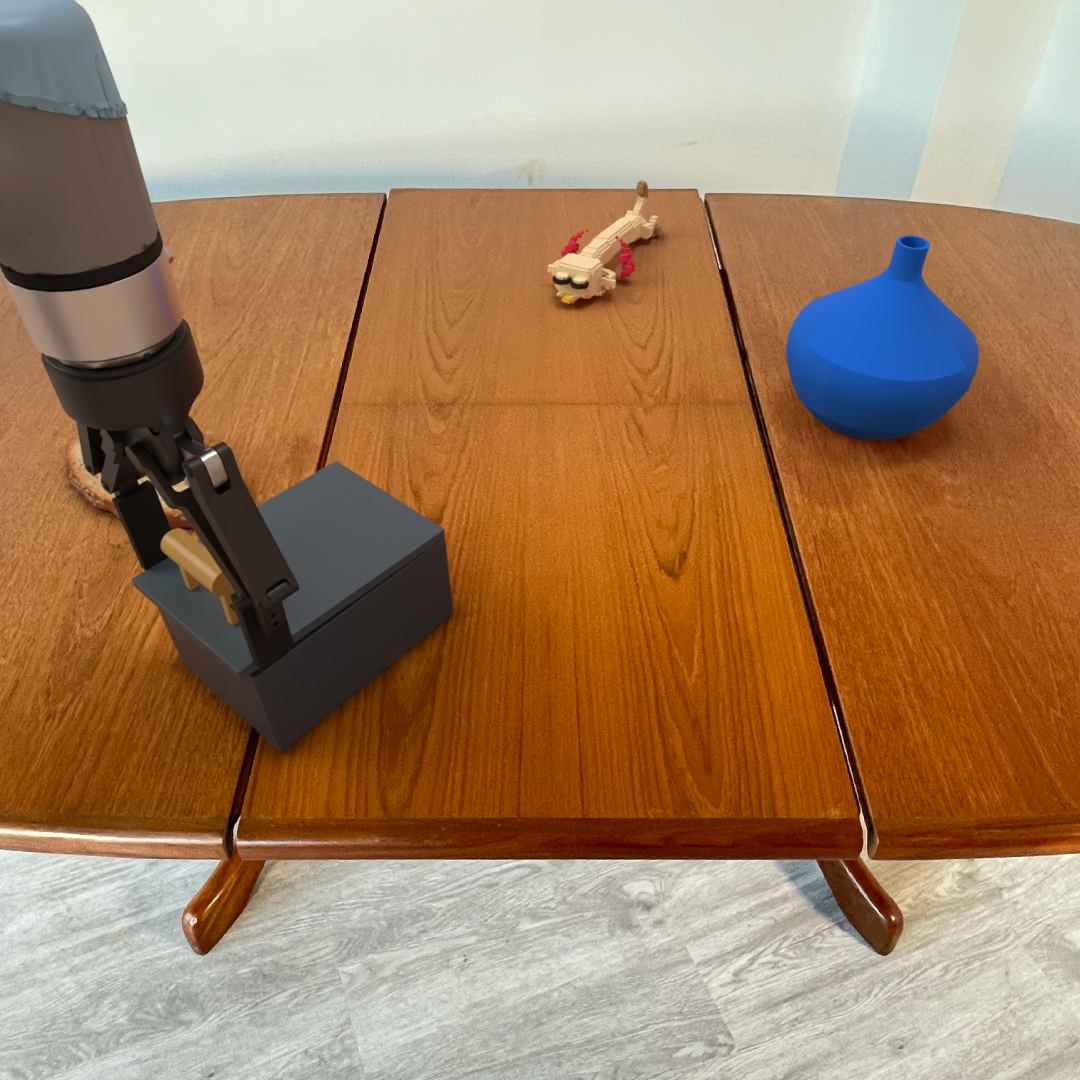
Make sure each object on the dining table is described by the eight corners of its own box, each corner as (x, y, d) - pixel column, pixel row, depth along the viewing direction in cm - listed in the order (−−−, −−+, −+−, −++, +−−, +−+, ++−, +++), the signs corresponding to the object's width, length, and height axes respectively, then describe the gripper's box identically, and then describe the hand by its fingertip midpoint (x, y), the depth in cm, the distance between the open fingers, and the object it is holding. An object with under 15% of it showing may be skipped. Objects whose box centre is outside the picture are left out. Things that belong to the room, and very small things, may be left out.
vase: (763, 446, 90) (801, 272, 77) (784, 354, 102) (820, 191, 89) (952, 482, 86) (1027, 305, 72) (950, 381, 98) (1014, 214, 85)
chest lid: (240, 681, 57) (219, 620, 53) (134, 587, 63) (108, 526, 59) (445, 537, 67) (440, 477, 64) (337, 468, 74) (327, 410, 70)
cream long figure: (609, 233, 128) (528, 295, 111) (614, 171, 123) (530, 226, 105) (672, 247, 125) (600, 314, 108) (681, 184, 119) (606, 243, 102)
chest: (281, 753, 64) (253, 679, 58) (182, 662, 70) (147, 586, 64) (453, 614, 74) (445, 537, 68) (353, 544, 80) (337, 468, 74)
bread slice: (243, 523, 82) (233, 493, 79) (40, 544, 80) (23, 514, 77) (257, 411, 95) (249, 382, 92) (83, 427, 93) (70, 398, 90)
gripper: (320, 390, 43) (375, 665, 57) (63, 240, 54) (163, 500, 69) (184, 462, 38) (281, 739, 53) (-62, 284, 50) (73, 550, 65)
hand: (214, 604), depth 61 cm, fingers open, 13 cm apart
